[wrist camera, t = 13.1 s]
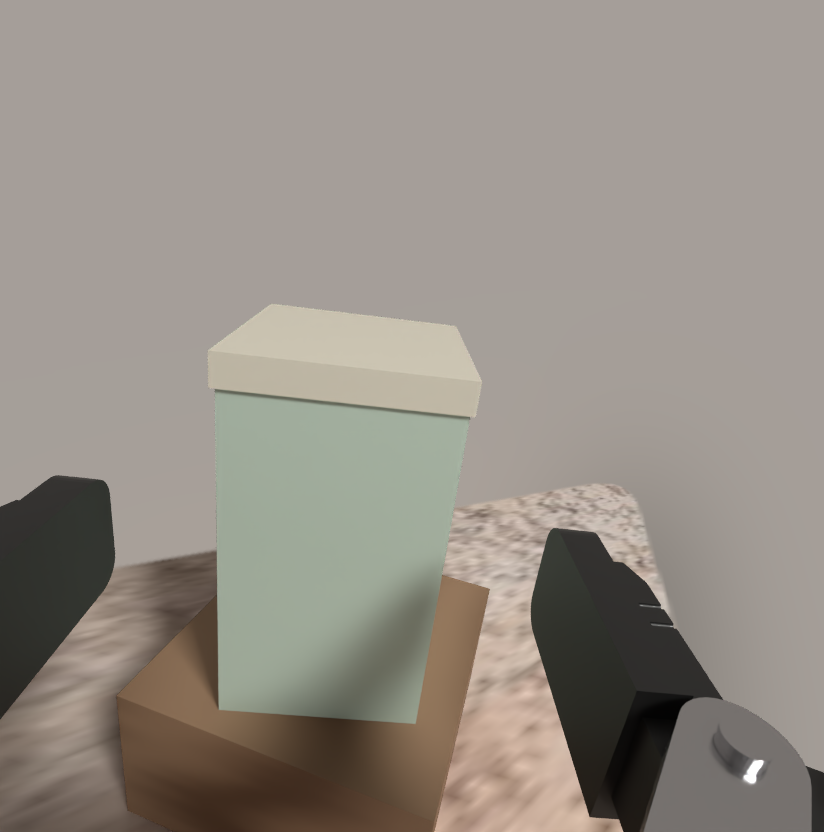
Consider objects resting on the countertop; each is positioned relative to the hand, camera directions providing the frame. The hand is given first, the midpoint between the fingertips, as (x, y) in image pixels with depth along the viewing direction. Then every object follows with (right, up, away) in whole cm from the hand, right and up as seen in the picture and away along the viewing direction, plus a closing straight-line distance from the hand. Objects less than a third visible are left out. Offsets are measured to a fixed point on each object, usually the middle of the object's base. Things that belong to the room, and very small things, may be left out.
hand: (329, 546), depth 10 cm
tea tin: (-1, -5, +7) cm, 9 cm away
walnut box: (-2, -9, +10) cm, 13 cm away
